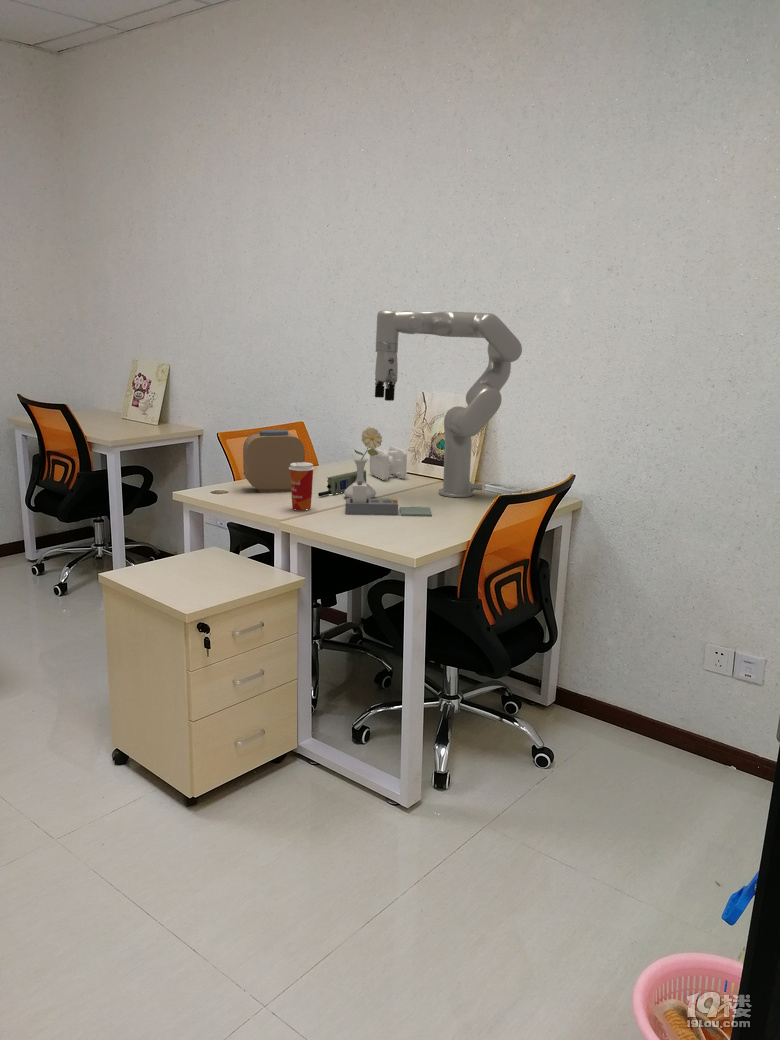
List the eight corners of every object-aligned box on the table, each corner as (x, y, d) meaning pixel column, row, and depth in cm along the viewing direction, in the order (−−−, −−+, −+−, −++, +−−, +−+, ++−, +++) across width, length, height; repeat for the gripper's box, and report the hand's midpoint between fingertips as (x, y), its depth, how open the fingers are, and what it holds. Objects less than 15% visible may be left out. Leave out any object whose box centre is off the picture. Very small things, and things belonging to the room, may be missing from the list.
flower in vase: (345, 501, 285) (346, 429, 279) (342, 494, 296) (343, 424, 290) (383, 501, 287) (384, 429, 281) (378, 494, 298) (379, 424, 292)
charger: (366, 510, 275) (366, 479, 272) (366, 513, 270) (366, 482, 268) (352, 509, 275) (352, 479, 272) (352, 513, 270) (352, 482, 268)
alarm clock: (299, 485, 309) (299, 427, 304) (304, 491, 300) (304, 431, 295) (243, 488, 302) (242, 429, 297) (247, 493, 294) (246, 432, 288)
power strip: (396, 509, 277) (397, 496, 276) (397, 515, 269) (398, 502, 268) (345, 508, 276) (345, 495, 275) (345, 514, 268) (345, 501, 267)
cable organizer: (407, 480, 324) (408, 451, 321) (382, 482, 319) (383, 452, 316) (391, 473, 337) (392, 445, 334) (367, 475, 333) (368, 446, 330)
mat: (429, 509, 278) (429, 507, 278) (431, 516, 269) (432, 514, 268) (399, 508, 278) (399, 506, 278) (401, 515, 268) (401, 514, 268)
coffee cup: (285, 506, 276) (285, 462, 272) (309, 505, 279) (309, 461, 275) (293, 512, 268) (293, 467, 265) (317, 511, 272) (317, 465, 268)
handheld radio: (367, 488, 309) (323, 498, 290) (361, 487, 311) (316, 497, 292) (367, 470, 308) (322, 479, 288) (360, 469, 310) (315, 478, 290)
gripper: (406, 350, 275) (403, 401, 279) (388, 347, 291) (385, 396, 295) (385, 349, 272) (382, 401, 276) (367, 346, 288) (365, 396, 292)
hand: (384, 398), depth 286 cm, fingers open, 9 cm apart
